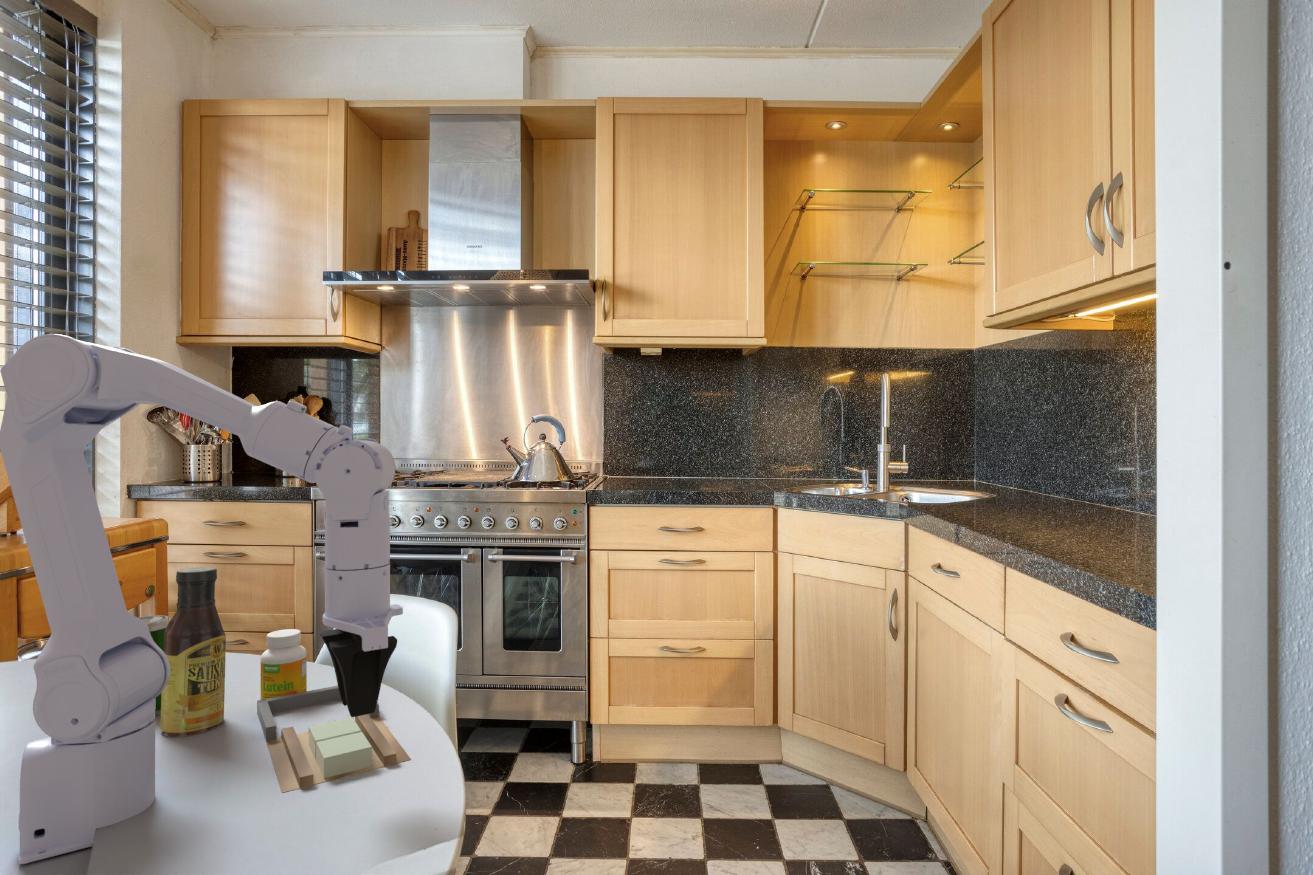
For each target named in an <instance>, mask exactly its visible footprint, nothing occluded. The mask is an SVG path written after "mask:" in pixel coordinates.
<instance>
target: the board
mask: <svg viewBox="0 0 1313 875" xmlns="http://www.w3.org/2000/svg"><path fill="white" fill-rule="evenodd" d="M354 720H355V722H356V723H357V725H358V727H359V728H360V730H361V732H362V733H363V734H364V736H365V737H366V739H367V740H368V742H369V743H370V745H371V746H372V766H371V767H367V768H363V769H359V770H355V771H351V772H347V773H343V774H339V775H335V776H332V777H328V778H323V775H322V773H321V771H320V769H319V767H318V764H317V762H316V760H315V758H314V755H313V753H312V751H311V749H310V747H309V731H307V732H302V733H297V732H296V730H295V728H294V726H288V727H285V728H281V729H280V733H281V736H280V737H279V738H276V739H274V740H269V741H266V740H265V743H266V747H267V750H268V753H269V755H270V759H271V762H272V765H273V769H274V771H275V774H276V777H277V781H278V784H279V787H280V791H281V793H282V794H284V793H288V792H292V791H296V790H299V789H300V790H301V789H304V788H307V787H311V786H315V785H319V784H323V783H327V782H331V781H335V780H338V779H342V778H345V777H351V776H353V775H357V774H361V773H365V772H366V773H367V772H370V771H373V770H378V769H381V768H384V767H389V766H392V765H396V764H401V763H404V762H408V761H412V758H411V757H410V756H409V754H408V753H407V752H406V751H405V749H404V748H403V747H402V745H401V744H400V742H399V741H398V740H397V739H396V737H395V736H394V735H393V733H392V732H391V731H390V730H389V728H388V726H386V724H385V723H384V721H383V720H382V719H381V717H380V716H379V717H375V718H370V716H369V715H368V714H366V715H361V716H357V717H354Z"/></svg>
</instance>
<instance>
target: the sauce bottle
mask: <svg viewBox="0 0 1313 875" xmlns="http://www.w3.org/2000/svg"><path fill="white" fill-rule="evenodd" d="M217 571H218V569H217V567H216V568H215V567H213V566H209V567H208V566H205V567H189V568H183V569H178V570H176V575H175V582H176V584H177V598H176V599H177V600H176V601H177V602H176V612H175V613H174V615H172V617H171V619H170V620H168V621H169V624H168V625H167V627H166V630H165V634H164V651H163V652H164V653H165V654H166V656H167V658H168V660H169V664H170V678H169V681H168V683H167V685H166V687H165V689H164V690H163V691H162V695H161V714H160V726H159V728H160V730H161V732H162V733H161V735H163V736H166V737H170V738H178V737H179V738H180V737H191V736H195V735H196V736H197V735H199V734H201V733H206V732H208V731H212V730H213V729H216V728H217V727H218V726H220V725H221V724H222V723H223V722H224V719H225V693H226V692H225V688H226V687H225V686H226V685H225V684H226V683H225V682H226V681H225V680H226V646H227V644H226V642H227V634H226V633H225V631H224V628H223V624H222V622H221V618H220V616H219V613H218V610H217V607H216V599H215V590H216V589H215V587H216V582H217V579H218V572H217Z"/></svg>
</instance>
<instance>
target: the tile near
mask: <svg viewBox="0 0 1313 875" xmlns="http://www.w3.org/2000/svg"><path fill="white" fill-rule="evenodd" d="M316 762H317V764H318V767H319V769H320V771H321V773H322V775H323V778H328V777H332V776H335V775H339V774H343V773H347V772H351V771H355V770H359V769H363V768H367V767H371V766H372V746H371V745H370V743H369V742H368V740H367V739H366V737H365V736H364V734H363V733H362V732H359V733H355V734H350V735H346V736H342V737H337V738H333V739H328V740H324V741H320V742H316Z"/></svg>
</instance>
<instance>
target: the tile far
mask: <svg viewBox="0 0 1313 875" xmlns="http://www.w3.org/2000/svg"><path fill="white" fill-rule="evenodd" d="M308 732H309V747H310V749H311V751H312V753H313V755H314V758H315V760H316V742H320V741H324V740H328V739H333V738H337V737H342V736H346V735H350V734H355V733H359V732H361V730H360V728H359V727H358V725H357V723H356V722H355V718H354V717H351V716H350V717H346V718H345V717H344V718H341V719H337V720H331V721H328V722H322V723H319V724H314V725H310V726H309V725H308Z"/></svg>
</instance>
